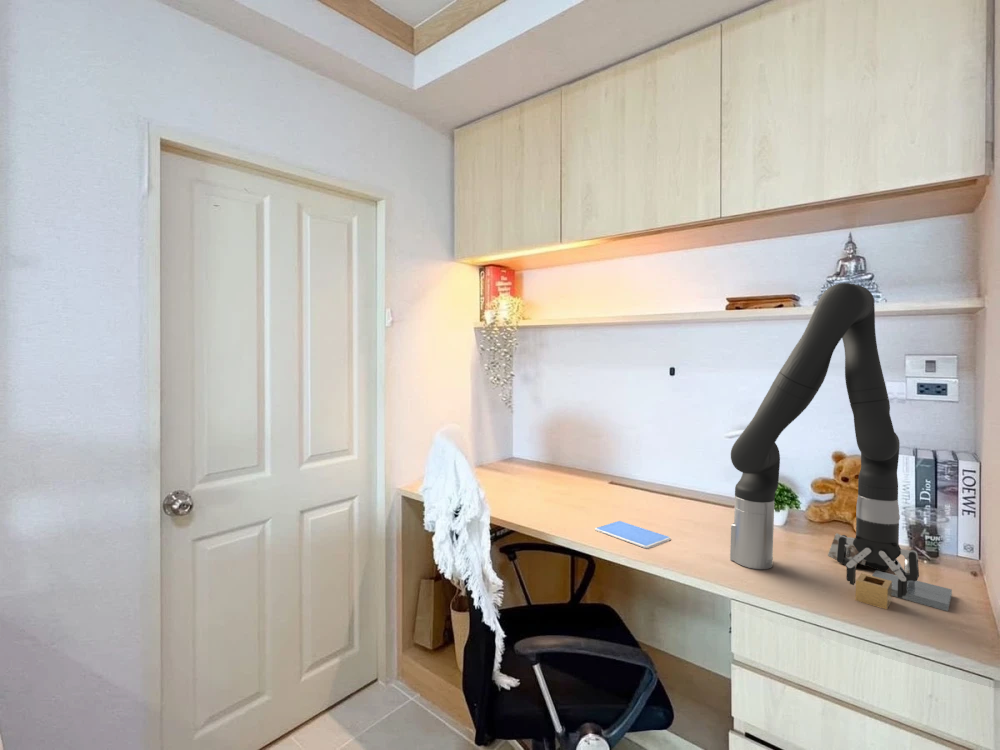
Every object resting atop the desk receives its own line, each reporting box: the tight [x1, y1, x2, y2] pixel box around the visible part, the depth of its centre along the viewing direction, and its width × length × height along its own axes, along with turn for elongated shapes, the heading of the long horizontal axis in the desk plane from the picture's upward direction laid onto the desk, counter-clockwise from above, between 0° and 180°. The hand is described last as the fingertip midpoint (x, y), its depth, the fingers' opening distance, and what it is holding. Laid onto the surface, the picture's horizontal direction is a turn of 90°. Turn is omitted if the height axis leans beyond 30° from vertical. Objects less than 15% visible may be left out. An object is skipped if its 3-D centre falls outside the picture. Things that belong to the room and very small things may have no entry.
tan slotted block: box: [854, 572, 892, 610], centre depth 110 cm, size 6×6×4 cm
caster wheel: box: [827, 533, 890, 572], centre depth 130 cm, size 7×11×10 cm
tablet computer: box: [594, 520, 672, 549], centre depth 150 cm, size 19×13×1 cm, turn 38°
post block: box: [871, 558, 953, 612], centre depth 114 cm, size 14×10×10 cm
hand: (875, 589), depth 110 cm, fingers open, 8 cm apart
